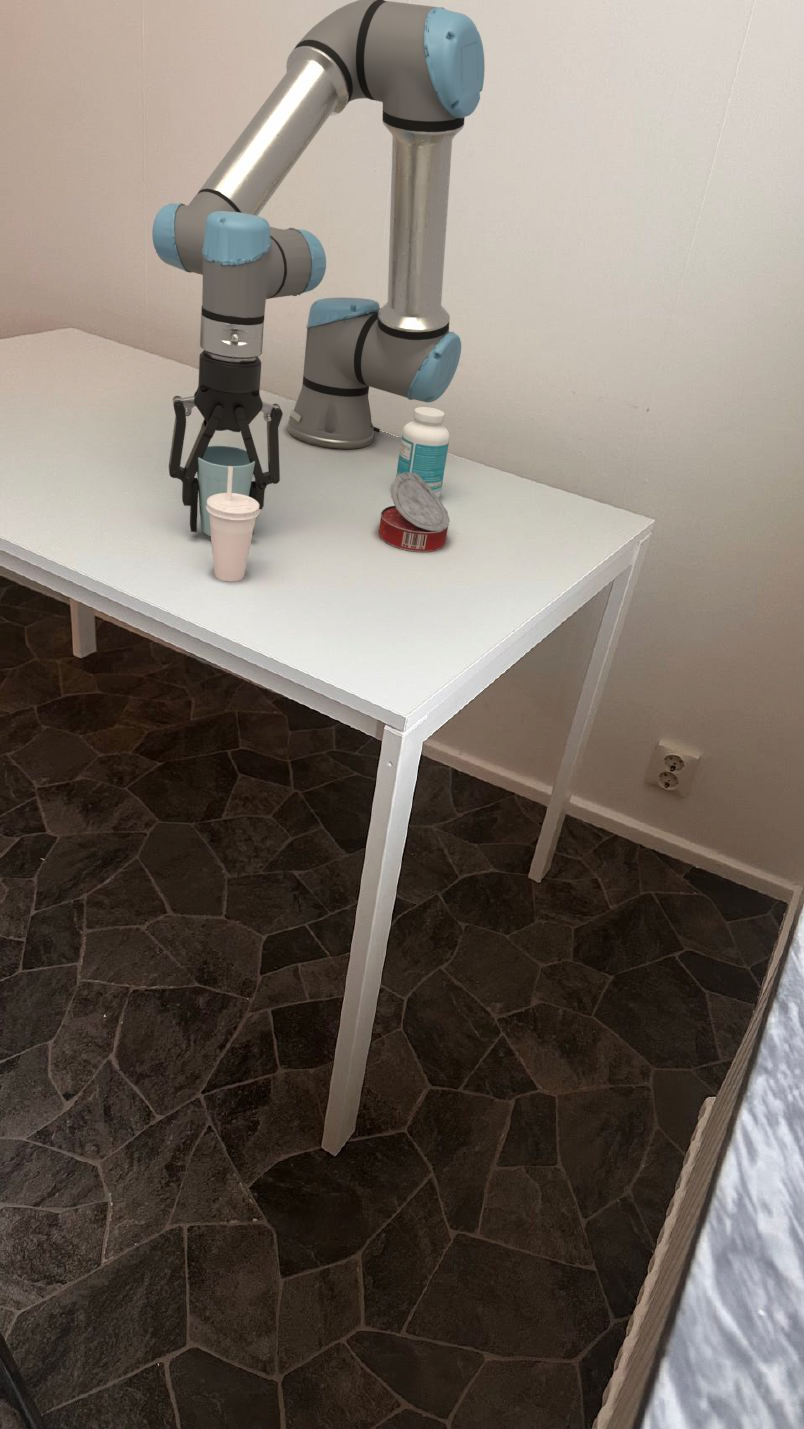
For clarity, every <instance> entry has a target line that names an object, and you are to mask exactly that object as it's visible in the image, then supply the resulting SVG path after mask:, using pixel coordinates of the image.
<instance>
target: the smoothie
mask: <svg viewBox="0 0 804 1429" xmlns="http://www.w3.org/2000/svg"><path fill="white" fill-rule="evenodd" d="M232 476H233V467H228V481H227V493H220V494H215V495H212V496H210V497H209V498H208V499H207V506H206V509H207V511H208V512H209V519H210V530H211V536H210V539H211V551H212V554H211V555H212V564H213V565H212V566H213V576H214V577H215V578H216V579H218V580H220V581H222V582H223V581H224V582H229V583H230V582H231V583H234V582H239V581H242V580H243V579H244V578H245V573H246V569H247V564H248V558H249V554H250V548H251V543H252V538H253V535H252V534H253V529H254V530H255V524H256V518H257V517H258V516H259V515H260V509H259V503H258V502H257V501H256V500H255V499H253V498H251V497H249V496H246V495H242V494H236V493H232Z"/></svg>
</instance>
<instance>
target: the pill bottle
mask: <svg viewBox="0 0 804 1429" xmlns="http://www.w3.org/2000/svg"><path fill="white" fill-rule="evenodd" d="M444 420H445V412H444V411H442V410H441V409H438V408H435V407H428V406H418V407H416V408H414V411H413V420H412V421H409V422H407V423H406V424H405V425H404V426H403V428H402V430H401V431H402V432H401V439H400V446H399V452H398V461H397V468H396V474H395V478H396V477H397V475H399V474H401V473H404V472H409V473H416V474H417V475H418V476H420V477H421V478H422V479H423V480H424V481H425V483H426V484H427V485H428V486H429V487H430V488H431V489H432V490H433V492H434V493H435V494H436V496H437V497H438V498H439V499H440V497H441V492H442V487H443V480H444V475H445V469H446V462H447V457H448V451H449V443H450V438H451V436H450V432H449V430H448V429H447V428H446V427H445V426H444V425H442V424H443V423H444V422H445V421H444Z"/></svg>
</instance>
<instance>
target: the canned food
mask: <svg viewBox="0 0 804 1429" xmlns="http://www.w3.org/2000/svg"><path fill="white" fill-rule="evenodd" d="M390 487H391V488H390V497H391V499H392V502H393V505H391V506H387V507H385V508H384V509H382V510H381V512H380V519H379V525H378V526H379V527H378V532H377V534H378V536H379V538H380V539H381V541H383V542H384V543H385V544H388V545H389V546H392V547H394V548H397V549H400V550H402V551H403V550H404V551H408V552H415V553H429V552H435V551H440V550H441V549H443V547H445V545H446V540H447V535H448V530H449V526H450V517H449V513H448V510H447V509H446V507H445V506H444V504H443V502H442V500H441V499H440V497H439V498H438V497H437V496H436V494H435V493H434V492H433V490H432V489H431V488H430V487H429V486H428V485H427V484H426V483H425V481H424V480H423V479H422V478H421V477H420V476H418V475H417V474H416V473H409V472H404V473H401V474H399V475H397V477H396V476H395V478H394V480H393V482H392V484H391V486H390Z"/></svg>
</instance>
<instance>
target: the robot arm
mask: <svg viewBox="0 0 804 1429" xmlns="http://www.w3.org/2000/svg"><path fill="white" fill-rule="evenodd" d="M285 66H286V67H285V68H286V73H285V74H284V75H283V77H282V78H281V80H280V81H279V82H278V84H277V85H276V86H275V87H274V89H273V90H272V92H271V93H270V94H269V95H268V97H267V99H266V100H265V101H264V103H262V105H261V107H260V108H259V109H258V111H257V112H256V113H255V115H254V116H253V117H252V118H251V120H250V121H249V122H248V124H247V125H246V127H245V128H244V129H243V131H242V132H241V133H240V134H239V136H238V137H237V139H236V140H235V142H234V143H233V144H232V146H231V147H230V148H229V150H228V151H227V153H226V154H225V155H224V157H223V158H222V159H221V160H220V162H219V163H218V164H217V166H216V167H215V169H213V171H212V172H211V174H210V175H209V177H208V178H207V179H206V181H205V182H204V184H202V186H201V187H200V189H199V190H198V192H197V193H196V194H195V196H194V197H193V198H192V199H191V201H190V202H189V204H187V205H186V204H185V203H180V202H179V203H168V204H166V205H164V206H162V207H161V208H160V209H159V210H158V212H157V214H156V215H155V218H154V221H153V223H152V224H153V225H152V229H151V230H152V233H151V234H152V235H151V236H152V237H151V238H152V244H153V247H154V250H155V253H156V255H157V256H158V258H159V259H160V260H161V261H162V262H163V263H165V264H166V265H168V266H171V267H174V268H177V269H179V270H181V271H184V272H186V273H190V274H192V273H193V274H197V275H201V276H202V295H201V296H202V297H201V298H202V301H201V302H202V304H201V309H200V310H201V313H200V330H199V331H200V332H199V347H200V349H202V350H203V351H201V352H200V354H199V355H198V357H199V359H198V360H199V361H198V382H197V383H198V384H197V385H198V386H197V389H196V391H195V392H194V394H193V395H192V396H186V397H182V396H180V395H174V396H173V398H172V404H173V411H174V414H175V417H174V424H173V430H172V431H173V433H172V437H171V438H172V439H171V445H170V453H169V461H168V473H169V476H170V478H172V479H177V480H180V481H181V483H182V487H181V489H182V490H181V500H182V501H181V502H182V504H183V506H184V507H189V509H190V510H189V527H190V533H197V532H198V512H199V510H198V509H199V492H198V487H199V485H198V478H197V477H196V475H197V470H198V468H199V464H198V458H201V459H203V456H204V454H205V452H206V449H207V447H208V446H210V442H211V440H212V438H213V437H214V436H215V433H216V431H217V432H223V431H230V432H233V433H240V434H241V438H242V440H243V445H244V448H245V451H247V454H248V457H249V461H250V463H252V462H253V461H255V466H254V471H253V477H254V480H252V482H251V488H250V493H249V497H251V498H253V499H255V500H256V501H257V502H258V503H259V510H263V509H264V507H265V506H264V505H265V495H266V494H265V492H266V488H267V486H269V485H271V484H274V485H277V484H279V483H280V480H281V475H280V471H281V470H280V442H279V441H280V440H279V436H280V434H279V427H280V424H281V421H282V418H283V415H284V414H283V411H282V408H281V406H280V404H278V403H272V404H271V403H269V402H268V403H267V402H264V401H263V399H262V397H261V395H260V393H261V392H260V390H261V375H262V361H261V360H260V359H261V358H260V356H261V355H262V354H263V341H264V325H265V312H266V304H267V300H270V299H276V298H284V297H297V296H301V295H303V294H304V293H308V292H311V291H313V290H315V289H317V287H318V286H319V285H320V284H321V282H322V281H323V279H324V277H325V274H326V270H327V256H326V251H325V249H324V246H323V244H322V242H321V241H320V239H319V238H318V237H317V236H316V235H315V234H314V233H313V232H310V231H309V230H306V229H299V228H298V229H297V228H294V227H289V228H285V229H283V228H277V227H273V226H271V225H270V223H269V221H268V220H267V219H266V218H264V217H261V216H259V215H260V213H261V212H262V211H263V209H264V208H265V207H266V205H267V204H268V202H269V201H270V200H271V198H272V196H273V195H274V194H275V193H276V192H277V190H278V189H279V187H280V186H281V184H282V183H283V181H284V180H285V178H286V177H287V176H288V175H289V173H290V171H291V170H292V169H293V168H294V166H295V164H296V163H297V162H298V160H299V159H300V158H301V156H302V155H303V154H304V152H305V151H306V149H307V148H308V147H309V145H310V144H311V142H312V141H313V139H314V138H315V137H316V135H317V134H318V132H319V131H320V130H321V128H322V127H323V126H324V124H325V123H326V121H327V120H328V119H329V117H331V116H332V117H333V116H337V115H339V114H341V113H342V112H343V111H344V109H346V108H347V105H348V104H349V103H350V102H353V101H355V100H359V99H367V100H370V101H374V102H375V101H376V102H380V103H382V124H383V126H384V127H385V128H386V129H387V130H388V132H389V133H390V134H391V136H392V144H391V145H392V146H391V175H390V176H391V178H390V179H391V180H390V206H389V207H390V208H389V210H390V212H389V246H388V274H387V275H388V276H387V278H388V279H387V281H388V282H387V302H386V303H385V304H384V305H382V307H380V306H381V305H380V303H379V301H376V300H373V299H369V298H361V297H325V298H320V299H317V300H315V301H314V302H313V303H311V305H310V308H309V314H308V319H307V324H306V336H305V337H306V339H305V348H304V349H305V350H304V363H303V374H302V383H301V384H302V385H301V389H300V392H299V393H298V397H297V399H296V402H295V405H294V409H291V412H290V415H289V418H288V423H287V431H288V433H289V434H290V435H291V436H292V437H293V438H295V439H297V440H299V441H300V442H304V443H307V444H309V445H313V446H318V447H323V448H328V449H337V450H351V449H352V450H353V449H354V450H355V449H361V448H365V447H367V446H370V445H371V444H372V443H373V440H374V433H375V432H376V433H380V432H381V429H380V428H378V427H377V426H374V423H373V422H372V413H371V406H370V400H369V391H370V388H374V389H376V390H380V391H383V392H387V393H389V394H394V395H396V396H400V397H403V398H406V399H408V400H409V401H412V400H413V401H414V400H415V401H419V402H423V403H433V402H435V401H437V400H438V399H440V398H441V396H443V394H444V393H445V392H446V391H447V389H448V388H449V386H450V384H451V383H452V380H453V379H454V377H455V374H456V372H457V369H458V366H459V362H460V360H461V359H460V358H461V354H462V341H461V337H460V336H459V335H458V334H457V333H455V332H454V331H450V319H451V318H450V317H451V316H450V313H449V312H448V310H447V309H446V308H445V307H444V306H443V305H442V300H443V298H442V297H443V285H444V284H443V283H444V270H445V269H444V268H445V254H446V240H447V225H448V224H447V223H448V210H449V196H450V195H449V193H450V181H451V180H450V179H451V166H452V152H453V151H452V149H453V139H454V138H455V137H456V136H457V134H459V133H460V132H461V131H462V130H463V128H464V127H465V119H466V117H470V116H471V115H472V114H473V113H474V112H475V110H476V108H477V107H478V105H479V103H480V100H481V92H482V91H483V88H484V82H485V70H486V69H485V66H486V65H485V50H484V46H483V40H482V36H481V34H480V32H479V30H478V28H477V25H476V23H475V22H474V21H473V20H472V18H470V17H469V16H468V15H466V14H465V13H461V12H457V11H454V10H449V9H446V8H445V7H439V6H431V5H423V4H416V3H415V4H414V3H407V2H397V1H391V0H390V1H388V0H355V1H353V2H349V3H347V4H345V5H343V6H340V7H339V8H337V9H336V10H334V11H333V12H331V13H330V14H328V15H327V16H325V17H324V18H323V19H321V20H320V21H319V22H317V23H316V24H315V25H314V26H313V27H312V28H311V29H310V30H308V32H306V34H305V35H304V36H303V37H302V38H301V39H300V41H299V42H298V43H297V44H295V47H294V48H293V49H292V51H291V52H290V53H289V55H288V57H287V59H286V65H285ZM194 407H196V408H197V410H198V411H199V413H200V414H201V416H202V418H203V421H202V423H201V425H200V430H199V432H198V434H197V437H196V439H195V441H194V444H193V446H192V448H191V451H190V453H189V455H188V458H187V460H186V463H185V465H184V467H183V466H181V463H182V458H183V450H184V442H185V436H186V427H187V417H190V416H191V414H192V410H193V408H194ZM261 412H262V417H263V419H264V420H263V421H265V422H266V446H267V448H266V449H267V471H265V472H263V469H262V465H261V462H260V459H259V455H258V451H257V449H256V445H255V442H254V438H253V435H252V432H251V427H250V424H251V423H252V422H253V421H254V419H256V416H258V415H259V414H260V413H261ZM254 534H255V528H254V529H253V534H252V536H253V535H254Z"/></svg>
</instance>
